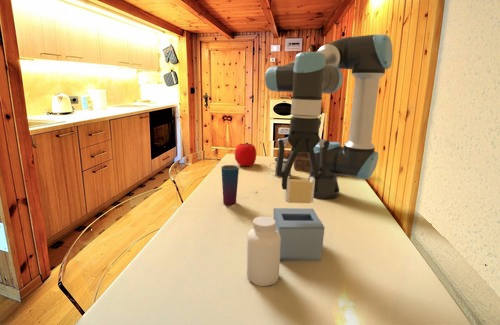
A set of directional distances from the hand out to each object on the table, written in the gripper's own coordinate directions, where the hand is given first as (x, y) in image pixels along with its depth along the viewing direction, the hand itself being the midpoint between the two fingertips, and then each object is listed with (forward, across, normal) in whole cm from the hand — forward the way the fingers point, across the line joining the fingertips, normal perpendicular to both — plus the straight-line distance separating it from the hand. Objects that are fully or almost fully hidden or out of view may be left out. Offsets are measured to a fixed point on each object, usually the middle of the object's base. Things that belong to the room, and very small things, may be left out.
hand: (298, 200), depth 79 cm
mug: (+15, -6, -72) cm, 74 cm away
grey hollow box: (+15, 0, 0) cm, 15 cm away
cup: (+15, +20, -33) cm, 42 cm away
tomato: (+15, +12, -92) cm, 94 cm away
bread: (+15, -31, -84) cm, 90 cm away
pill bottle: (+15, +10, +12) cm, 22 cm away
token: (0, 0, 0) cm, 0 cm away
